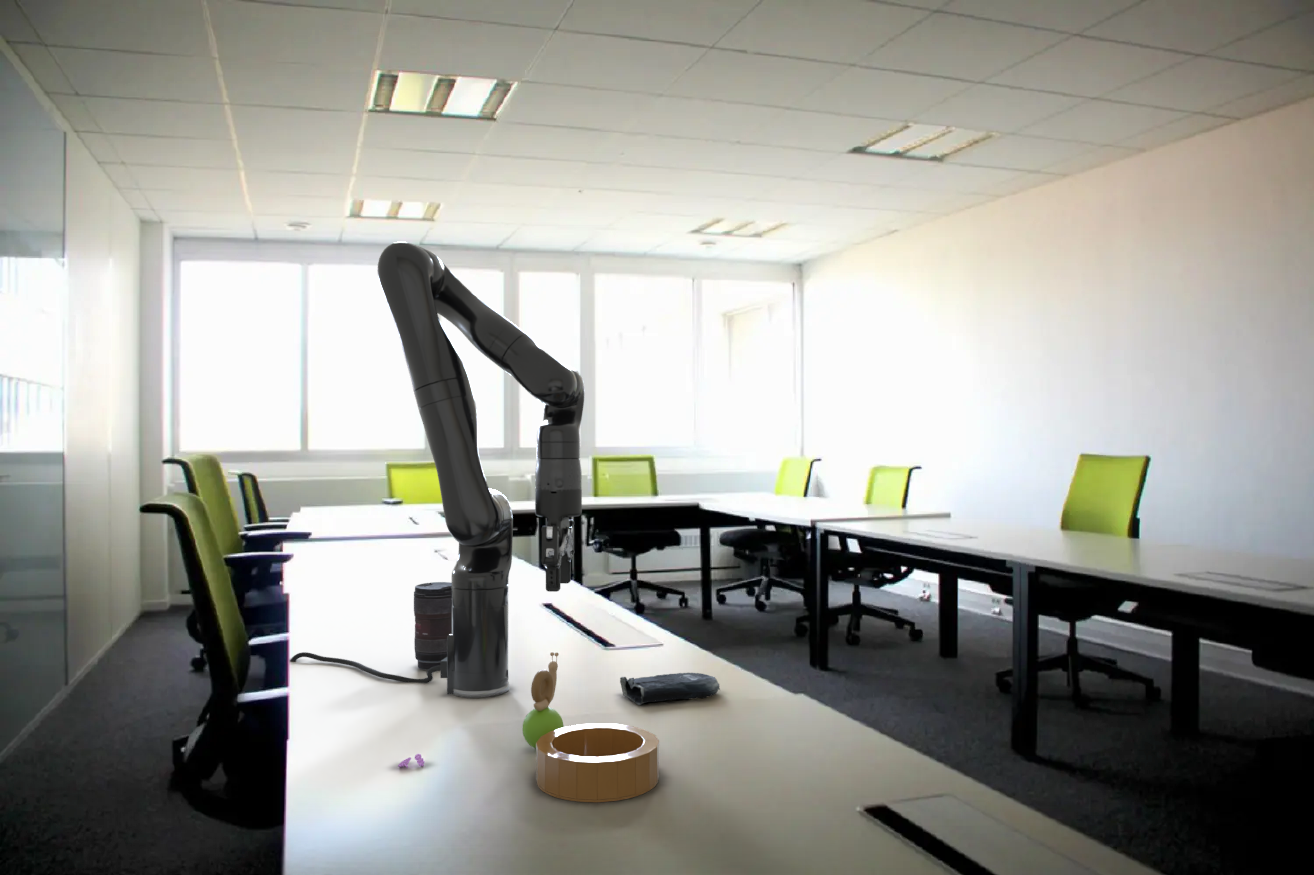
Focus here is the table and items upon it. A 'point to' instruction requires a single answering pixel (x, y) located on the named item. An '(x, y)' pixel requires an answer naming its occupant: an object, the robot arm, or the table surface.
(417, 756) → the earpods
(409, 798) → the table surface
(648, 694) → the dark blue pouch
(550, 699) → the snail figurine
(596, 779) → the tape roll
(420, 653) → the camera lens
